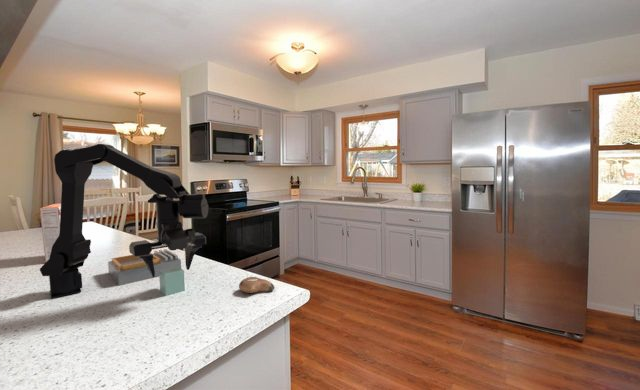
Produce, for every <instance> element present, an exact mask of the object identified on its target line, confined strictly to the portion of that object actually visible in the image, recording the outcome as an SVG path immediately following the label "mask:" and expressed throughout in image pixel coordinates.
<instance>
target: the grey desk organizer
mask: <svg viewBox="0 0 640 390" xmlns="http://www.w3.org/2000/svg"><path fill="white" fill-rule="evenodd" d="M150 253H151V254H153V264H154V271H155V278H158V277H159V270H163V269H168V268H172V267H177V266H178V267H179V268H181V269H182V259H180V258H179V256H178V254H176V253H174V252H172V251H171V250H169V249H168V248H166V249H165V248H163V250H162V249H158V251H157V250H153V253H152V252H150ZM107 266H108V267H107V268H108V275H110V277H111V278H112V279H113V280H114V282H115V283H116V284H117V285H118V286H123V285H126V284H131V283H132V284H133V283H135V282H139V281H145V280H149V279H154V278H153V277H152V276H151V274H150V272H149V270H148V268H147V265H146V264H145V262H144V260H143V259H142V258H139V257H138V256H134V255H132V254H129V255H123V256H118V257H112V258H111V260H110V261H107Z"/></svg>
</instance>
